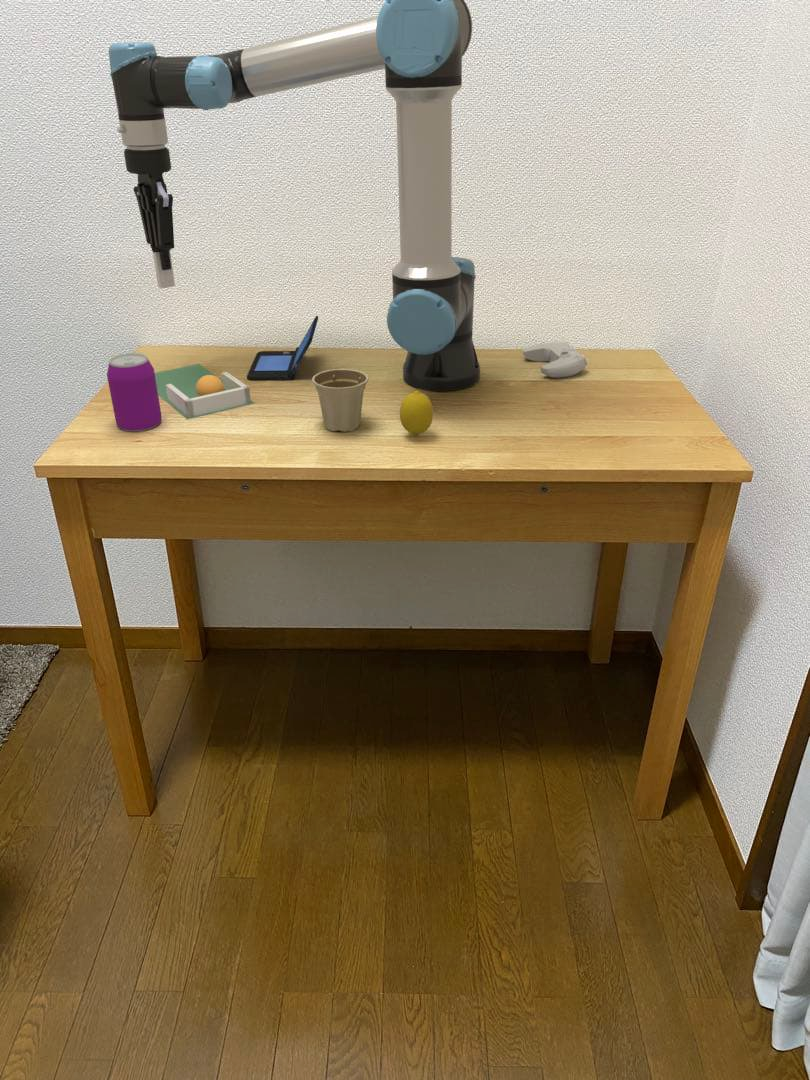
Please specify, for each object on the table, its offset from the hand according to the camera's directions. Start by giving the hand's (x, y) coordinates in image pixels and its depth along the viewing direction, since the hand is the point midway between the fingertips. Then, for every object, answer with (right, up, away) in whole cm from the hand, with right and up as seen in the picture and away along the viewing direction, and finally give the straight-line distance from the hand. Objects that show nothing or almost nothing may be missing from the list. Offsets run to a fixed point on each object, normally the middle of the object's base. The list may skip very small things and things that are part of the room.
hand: (166, 286), depth 157 cm
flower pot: (+33, -27, -9) cm, 44 cm away
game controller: (+75, -12, +16) cm, 77 cm away
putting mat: (+4, -19, +4) cm, 20 cm away
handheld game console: (+20, -13, +15) cm, 28 cm away
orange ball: (+9, -19, -2) cm, 21 cm away
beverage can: (-2, -27, -9) cm, 29 cm away
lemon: (+46, -30, -13) cm, 56 cm away
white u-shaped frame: (+8, -21, -1) cm, 23 cm away
